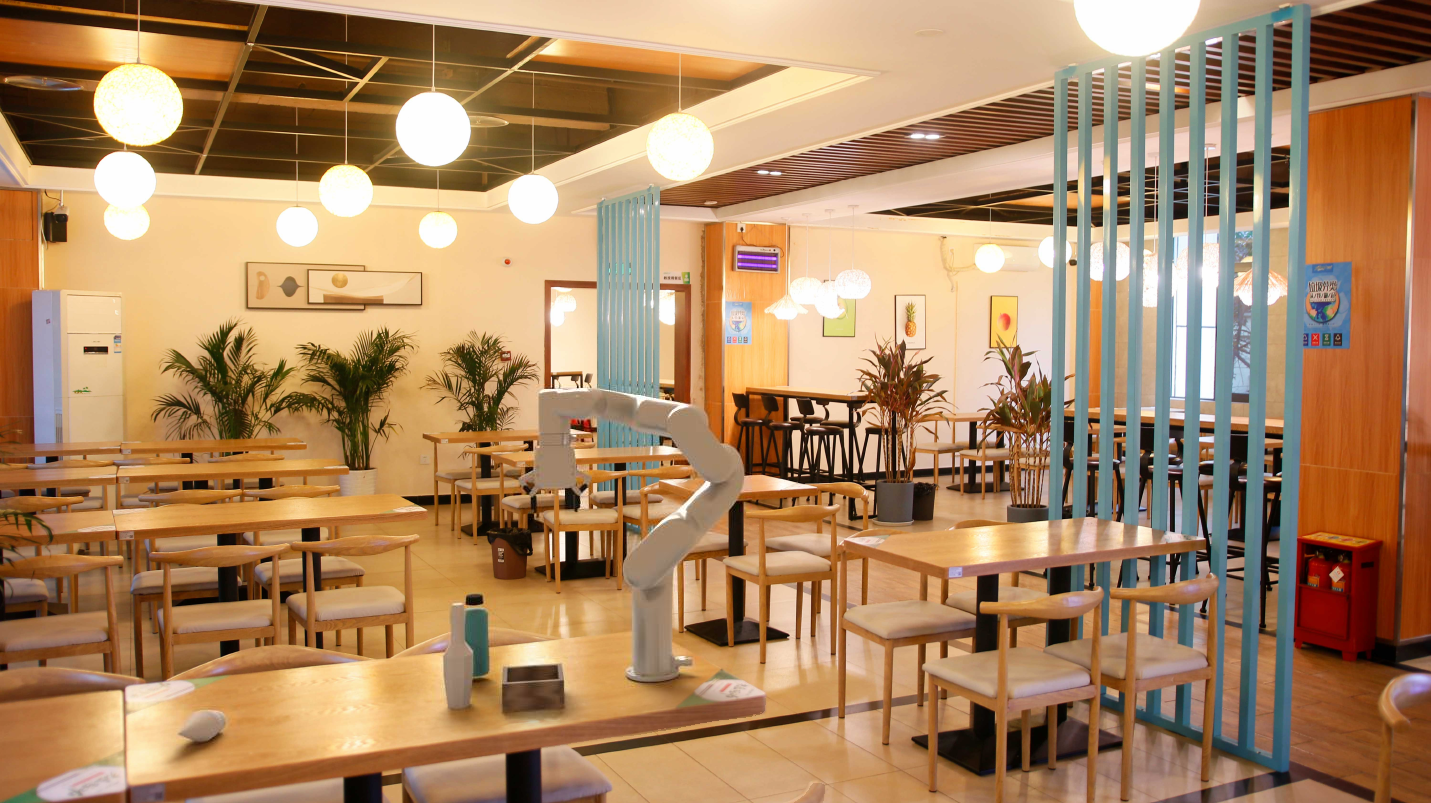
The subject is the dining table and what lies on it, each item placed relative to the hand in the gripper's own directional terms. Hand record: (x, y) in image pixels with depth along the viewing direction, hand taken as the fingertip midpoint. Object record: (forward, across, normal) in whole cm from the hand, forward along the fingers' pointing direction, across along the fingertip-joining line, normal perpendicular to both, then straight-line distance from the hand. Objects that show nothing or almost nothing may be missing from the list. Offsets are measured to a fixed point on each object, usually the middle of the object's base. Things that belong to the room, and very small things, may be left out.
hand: (555, 512), depth 244 cm
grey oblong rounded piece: (+39, +70, +34) cm, 87 cm away
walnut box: (+38, +6, +22) cm, 44 cm away
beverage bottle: (+38, +19, +3) cm, 43 cm away
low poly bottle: (+38, +22, +21) cm, 49 cm away
